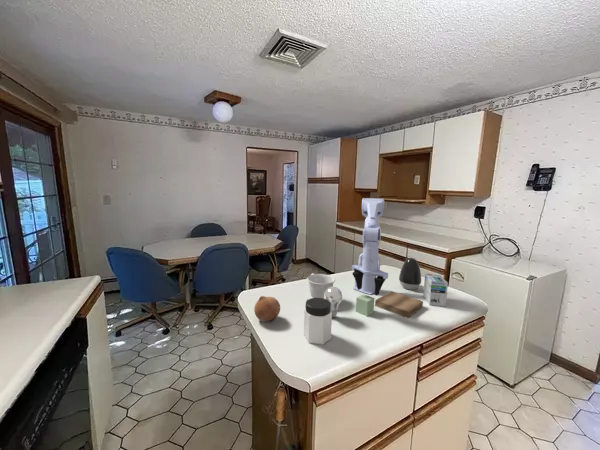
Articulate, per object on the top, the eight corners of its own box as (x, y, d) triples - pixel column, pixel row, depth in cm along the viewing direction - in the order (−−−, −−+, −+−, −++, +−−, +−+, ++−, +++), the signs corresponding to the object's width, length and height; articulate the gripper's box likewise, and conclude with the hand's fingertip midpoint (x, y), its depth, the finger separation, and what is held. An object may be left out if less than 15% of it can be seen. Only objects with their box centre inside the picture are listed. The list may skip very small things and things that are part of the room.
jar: (315, 327, 92) (316, 294, 90) (334, 336, 87) (336, 302, 85) (298, 338, 85) (299, 303, 84) (319, 348, 80) (320, 311, 78)
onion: (257, 326, 97) (246, 302, 97) (277, 313, 102) (267, 290, 102) (267, 329, 89) (255, 302, 89) (288, 315, 94) (277, 289, 94)
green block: (355, 311, 104) (356, 297, 103) (362, 307, 108) (363, 294, 107) (366, 316, 101) (367, 301, 100) (373, 312, 104) (374, 298, 103)
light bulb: (342, 314, 102) (344, 285, 100) (339, 323, 95) (341, 292, 93) (325, 311, 104) (326, 282, 102) (321, 319, 97) (322, 289, 95)
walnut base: (375, 305, 110) (375, 300, 109) (391, 296, 119) (391, 291, 119) (408, 318, 100) (408, 312, 99) (422, 306, 109) (423, 301, 109)
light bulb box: (446, 307, 110) (448, 282, 108) (428, 305, 111) (431, 281, 109) (438, 296, 120) (440, 274, 118) (422, 295, 121) (424, 272, 120)
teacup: (322, 290, 124) (322, 270, 123) (339, 303, 111) (340, 281, 109) (299, 294, 119) (299, 273, 117) (314, 309, 106) (315, 285, 104)
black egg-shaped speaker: (412, 283, 136) (415, 255, 134) (424, 291, 126) (427, 260, 124) (394, 283, 135) (396, 255, 132) (405, 292, 125) (407, 261, 122)
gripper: (348, 256, 103) (346, 289, 105) (382, 264, 93) (380, 300, 95) (357, 253, 108) (356, 284, 110) (391, 260, 98) (389, 295, 100)
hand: (368, 291), depth 103 cm, fingers open, 7 cm apart
